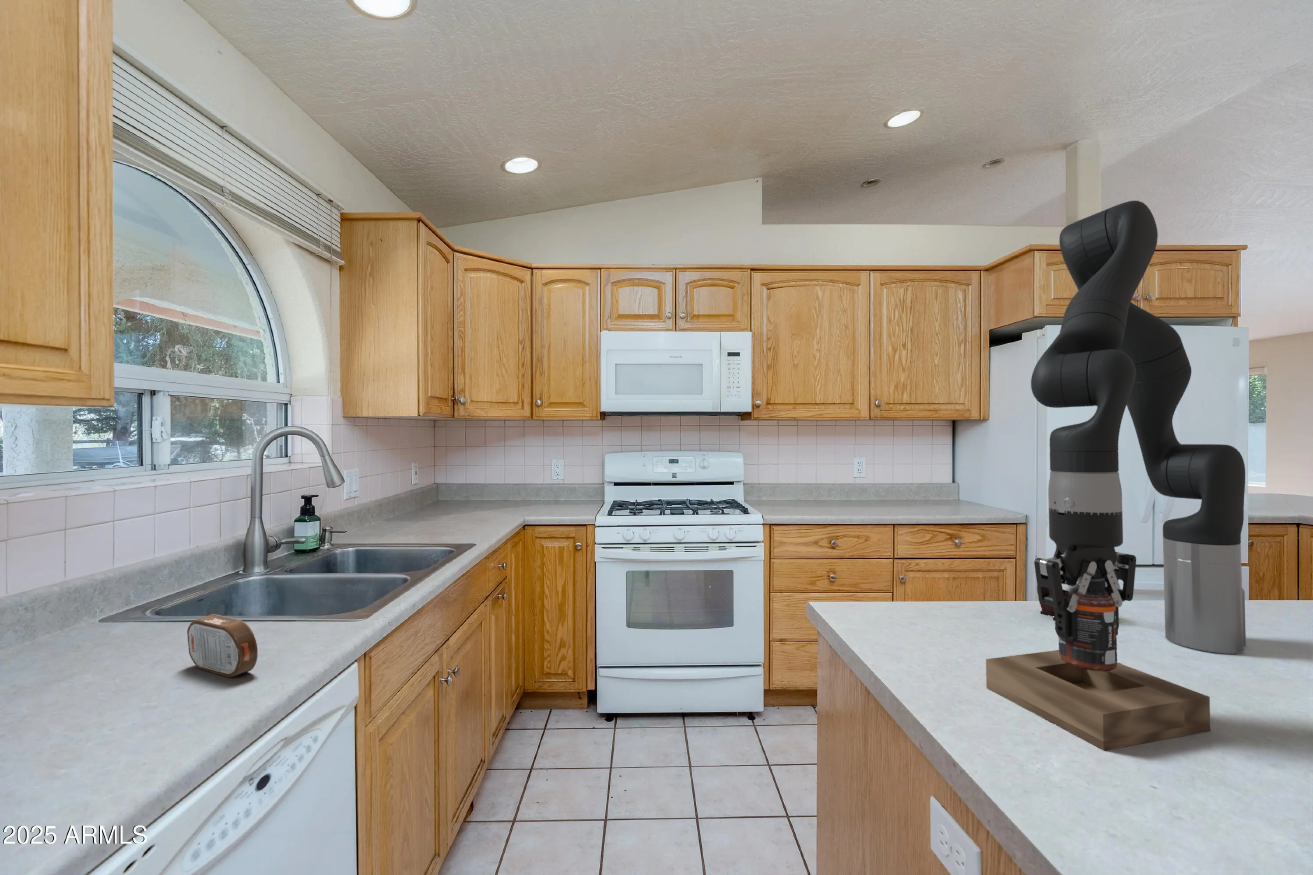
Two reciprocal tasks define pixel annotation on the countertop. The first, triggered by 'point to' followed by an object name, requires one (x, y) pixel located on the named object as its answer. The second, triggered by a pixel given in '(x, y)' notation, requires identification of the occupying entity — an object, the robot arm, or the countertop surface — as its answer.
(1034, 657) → the walnut holder
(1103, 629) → the supplement bottle
